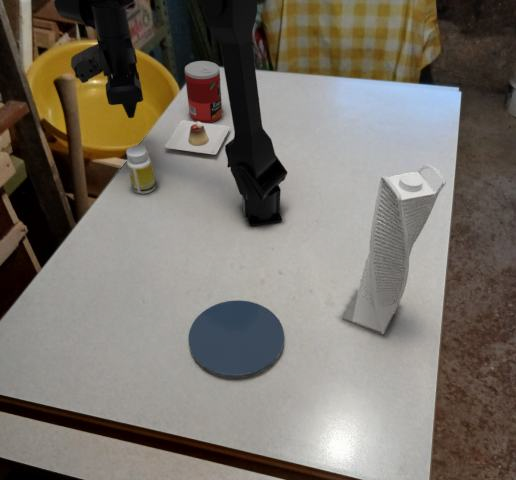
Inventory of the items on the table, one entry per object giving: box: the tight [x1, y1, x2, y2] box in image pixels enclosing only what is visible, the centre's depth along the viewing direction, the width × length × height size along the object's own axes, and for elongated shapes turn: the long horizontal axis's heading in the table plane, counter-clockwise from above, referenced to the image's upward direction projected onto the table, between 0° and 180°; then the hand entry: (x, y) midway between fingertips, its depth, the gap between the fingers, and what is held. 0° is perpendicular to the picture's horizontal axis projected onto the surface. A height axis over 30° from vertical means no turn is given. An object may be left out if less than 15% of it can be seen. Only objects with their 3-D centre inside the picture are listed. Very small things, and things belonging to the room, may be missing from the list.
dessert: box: [164, 119, 231, 156], centre depth 114 cm, size 12×12×5 cm
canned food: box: [184, 60, 223, 124], centre depth 118 cm, size 8×8×11 cm
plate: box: [187, 299, 285, 379], centre depth 80 cm, size 15×15×1 cm
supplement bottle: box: [125, 144, 157, 195], centre depth 102 cm, size 5×5×8 cm
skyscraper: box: [342, 163, 447, 336], centre depth 72 cm, size 8×8×28 cm
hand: (131, 117), depth 101 cm, fingers closed
